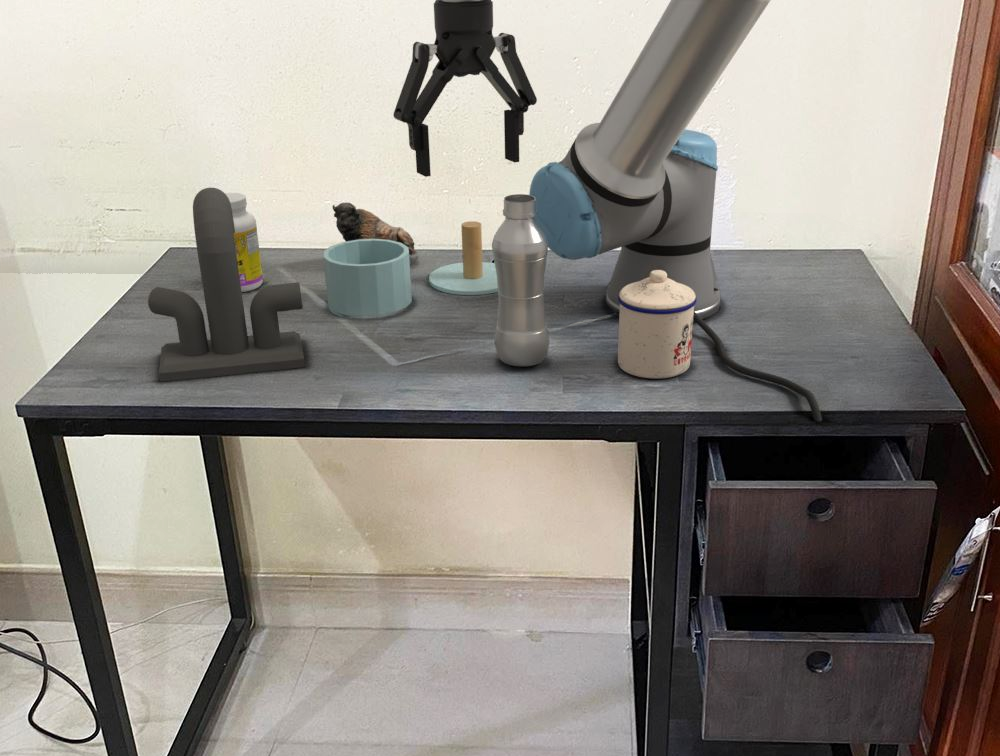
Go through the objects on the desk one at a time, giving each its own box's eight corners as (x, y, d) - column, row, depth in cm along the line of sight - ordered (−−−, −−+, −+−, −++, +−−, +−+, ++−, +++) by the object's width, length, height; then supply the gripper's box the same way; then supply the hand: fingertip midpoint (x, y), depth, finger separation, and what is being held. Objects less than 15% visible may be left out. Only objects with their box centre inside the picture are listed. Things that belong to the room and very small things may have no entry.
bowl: (425, 309, 156) (422, 256, 152) (347, 326, 151) (342, 271, 147) (391, 285, 164) (387, 234, 161) (316, 300, 160) (310, 247, 156)
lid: (533, 288, 162) (533, 228, 158) (453, 305, 157) (451, 243, 153) (490, 264, 172) (489, 206, 167) (414, 279, 167) (411, 220, 162)
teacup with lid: (689, 383, 133) (696, 287, 128) (611, 378, 135) (614, 283, 129) (695, 344, 144) (701, 253, 138) (622, 339, 145) (626, 250, 139)
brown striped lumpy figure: (418, 260, 174) (414, 193, 169) (420, 275, 168) (416, 207, 163) (338, 264, 173) (332, 197, 168) (337, 279, 167) (331, 210, 162)
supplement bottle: (207, 290, 164) (193, 201, 157) (233, 276, 169) (221, 189, 163) (247, 296, 162) (235, 205, 155) (272, 281, 167) (261, 193, 160)
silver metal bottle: (532, 377, 136) (531, 209, 126) (484, 365, 139) (479, 201, 129) (559, 358, 140) (560, 195, 130) (512, 347, 144) (509, 188, 134)
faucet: (301, 320, 153) (284, 169, 143) (310, 366, 140) (291, 203, 130) (161, 334, 150) (134, 180, 140) (157, 382, 137) (126, 216, 127)
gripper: (532, -13, 153) (533, 149, 164) (360, 2, 143) (373, 174, 154) (562, -8, 148) (561, 160, 158) (385, 8, 137) (396, 186, 148)
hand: (468, 167), depth 156 cm, fingers open, 13 cm apart
